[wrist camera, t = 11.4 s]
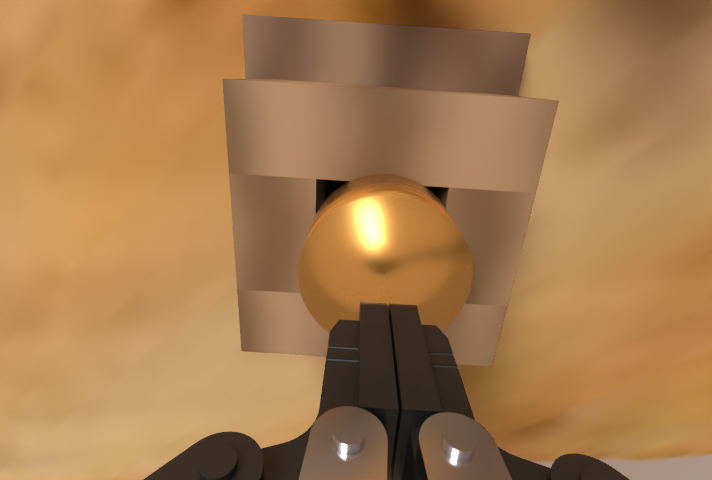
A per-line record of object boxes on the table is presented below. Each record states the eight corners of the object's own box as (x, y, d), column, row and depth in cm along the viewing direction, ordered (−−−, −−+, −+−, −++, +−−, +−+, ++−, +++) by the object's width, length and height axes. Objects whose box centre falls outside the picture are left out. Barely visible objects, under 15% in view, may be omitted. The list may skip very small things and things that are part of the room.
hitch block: (519, 36, 21) (629, 6, 12) (464, 310, 28) (509, 415, 19) (250, 19, 21) (169, -25, 12) (261, 298, 28) (215, 396, 19)
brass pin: (434, 148, 21) (488, 202, 12) (421, 247, 24) (457, 354, 14) (327, 141, 21) (298, 189, 12) (324, 240, 24) (297, 345, 14)
